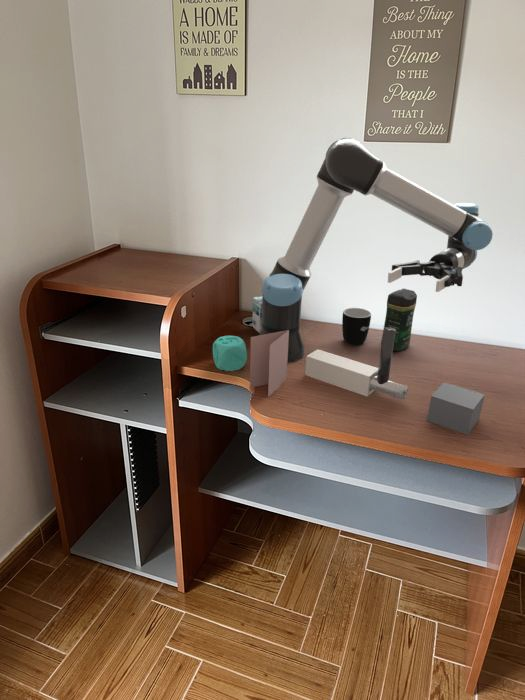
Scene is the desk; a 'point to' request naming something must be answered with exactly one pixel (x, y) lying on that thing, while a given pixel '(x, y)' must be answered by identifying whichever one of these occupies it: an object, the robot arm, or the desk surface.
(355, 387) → the elongated cream cuboid
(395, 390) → the slide bolt
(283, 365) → the greeting card
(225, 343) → the decorative dice
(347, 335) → the mug
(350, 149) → the robot arm
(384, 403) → the desk surface
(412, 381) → the desk surface
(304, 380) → the desk surface
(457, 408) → the socket block
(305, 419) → the desk surface
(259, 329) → the light bulb box
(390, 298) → the coffee jar
